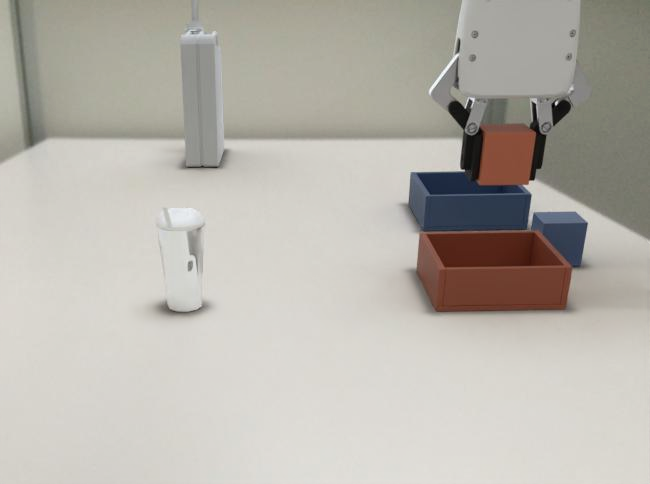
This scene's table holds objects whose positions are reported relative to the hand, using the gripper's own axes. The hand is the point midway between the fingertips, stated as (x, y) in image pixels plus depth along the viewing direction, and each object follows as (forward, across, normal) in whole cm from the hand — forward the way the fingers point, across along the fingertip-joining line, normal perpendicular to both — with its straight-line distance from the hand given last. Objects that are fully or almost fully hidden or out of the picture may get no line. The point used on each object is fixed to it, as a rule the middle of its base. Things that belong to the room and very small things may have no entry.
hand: (499, 175), depth 90 cm
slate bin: (+11, -3, -27) cm, 29 cm away
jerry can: (+11, +30, -64) cm, 71 cm away
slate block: (+11, -9, -9) cm, 17 cm away
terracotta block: (0, 0, 0) cm, 0 cm away
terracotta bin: (+11, 0, 0) cm, 11 cm away
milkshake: (+11, +30, +4) cm, 32 cm away
